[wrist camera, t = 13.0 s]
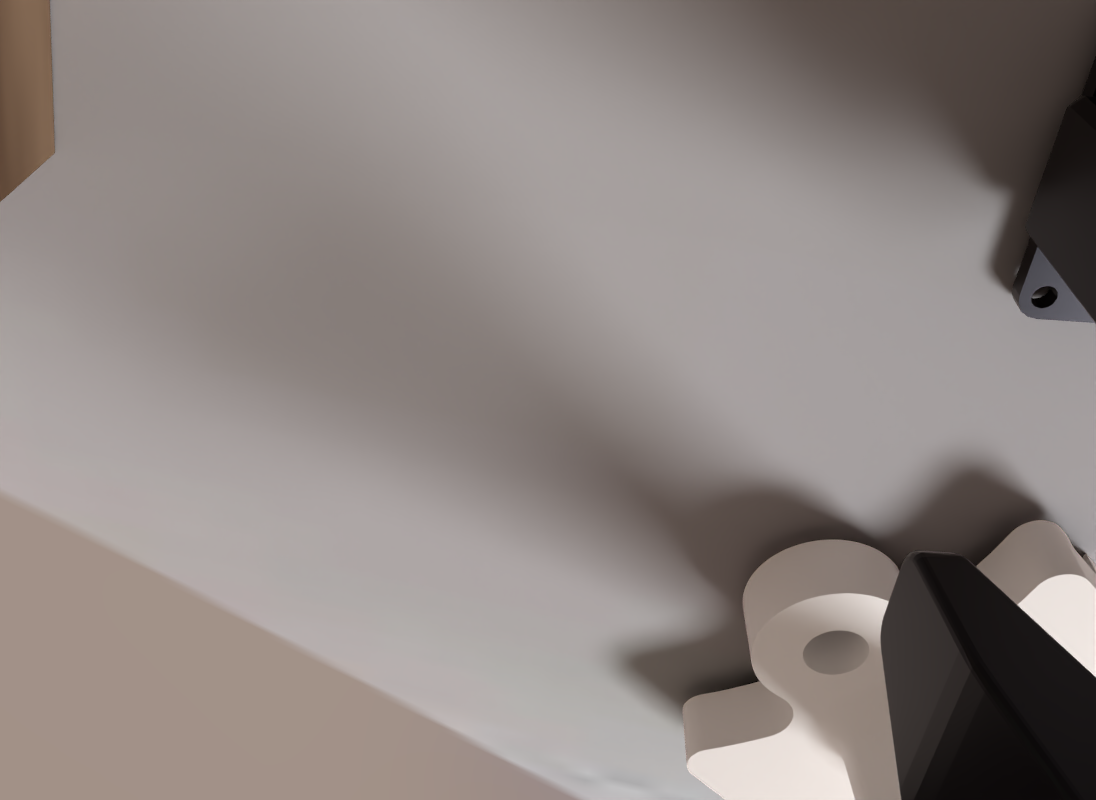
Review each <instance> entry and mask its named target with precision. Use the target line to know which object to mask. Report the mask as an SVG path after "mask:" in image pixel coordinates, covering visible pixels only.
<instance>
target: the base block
mask: <svg viewBox="0 0 1096 800" xmlns="http://www.w3.org/2000/svg"><path fill="white" fill-rule="evenodd" d="M54 153H55V145H54V115H53V85H52V55H51V26H50V0H0V202H1V201H2V200H3V199H4V198H5V197H6V196H7V195H9V194H10V193H11V192H12V191H13V190H14V189H15V188H16V187H17V186H19V185H20V184H21V183H22V182H23V181H24V180H25V179H26V178H27V177H29V176H30V175H31V174H32V173H33V172H34V171H35V170H36V169H37V168H39V167H40V166H41V165H42V164H43V163H44V162H45V161H46V160H47V159H49V158H50V157H51V156H52V155H53V154H54Z"/></svg>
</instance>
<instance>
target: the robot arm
mask: <svg viewBox="0 0 1096 800" xmlns="http://www.w3.org/2000/svg"><path fill="white" fill-rule="evenodd" d="M1025 228H1026V231H1027V232H1028V234H1029V235H1030V237H1031V238H1030V240H1029V243H1028V246H1027V249H1026V252H1025V254H1024V257H1023V260H1022V263H1021V265H1020V268H1019V271H1018V274H1017V277H1016V279H1015V282H1014V285H1013V291H1012V295H1013V298H1014V300H1015V302H1016V304H1017V305H1018V307H1019V309H1020V310H1021V311H1022V312H1023V313H1024V314H1025V315H1026V316H1028V317H1032V318H1036V319H1048V320H1062V321H1076V322H1090V323H1096V57H1095V60H1094V63H1093V65H1092V68H1091V71H1090V74H1089V76H1088V79H1087V82H1086V85H1085V88H1084V90H1083V93H1082V96H1080V97H1079V98H1078V99H1077V100H1076V101H1074V102H1073V103H1072V104H1071V105H1070V106H1069V107H1068V108H1067V109H1066V112H1065V115H1064V117H1063V120H1062V123H1061V126H1060V129H1059V132H1058V134H1057V137H1056V140H1055V143H1054V146H1053V149H1052V151H1051V154H1050V157H1049V160H1048V163H1047V165H1046V168H1045V171H1044V174H1043V177H1042V180H1041V182H1040V185H1039V188H1038V191H1037V194H1036V197H1035V199H1034V202H1033V205H1032V208H1031V211H1030V214H1029V216H1028V219H1027V222H1026V226H1025ZM1045 286H1051V287H1050V290H1049V291H1048V293H1047V294H1046V295H1044V296H1042V297H1041V298H1034V299H1033V298H1032V295H1033V294H1034V292H1035V291H1036V290H1038V289H1039V288H1041V287H1045ZM880 642H881V654H882V661H883V669H884V676H885V684H886V691H887V699H888V706H889V714H890V721H891V729H892V736H893V744H894V752H895V759H896V767H897V774H898V782H899V789H900V796H901V800H1096V677H1095V676H1094V675H1093V674H1092V673H1091V672H1090V671H1089V670H1087V669H1086V668H1085V667H1084V666H1083V665H1082V664H1081V663H1080V662H1079V661H1078V660H1077V659H1076V658H1074V657H1073V656H1072V655H1071V654H1070V653H1069V652H1068V651H1067V650H1066V649H1065V648H1064V647H1062V646H1061V645H1060V644H1059V643H1058V642H1057V641H1056V640H1055V639H1054V638H1053V637H1052V636H1051V635H1049V634H1048V633H1047V632H1046V631H1045V630H1044V629H1043V628H1042V627H1041V626H1040V625H1039V624H1038V623H1036V622H1035V621H1034V620H1033V619H1032V618H1031V617H1030V616H1029V615H1028V614H1027V613H1026V612H1025V611H1023V610H1022V609H1021V608H1020V607H1019V606H1018V605H1017V604H1016V603H1015V602H1014V601H1013V600H1011V599H1010V598H1009V597H1008V596H1007V595H1006V594H1005V593H1004V592H1003V591H1002V590H1001V589H1000V588H998V587H997V586H996V585H995V584H994V583H993V582H992V581H991V580H990V579H989V578H988V577H987V576H985V575H984V574H983V573H982V572H981V571H980V570H979V569H978V568H977V567H976V566H975V565H974V564H972V563H971V562H970V561H969V560H968V559H966V558H965V557H964V556H962V555H960V554H956V553H948V552H934V551H914V552H911V553H909V554H908V555H907V557H906V558H905V559H904V561H903V563H902V565H901V568H900V571H899V574H898V577H897V580H896V583H895V585H894V588H893V591H892V594H891V597H890V600H889V602H888V605H887V608H886V611H885V614H884V617H883V620H882V625H881V635H880Z"/></svg>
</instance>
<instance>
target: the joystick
mask: <svg viewBox="0 0 1096 800" xmlns="http://www.w3.org/2000/svg"><path fill="white" fill-rule="evenodd" d="M976 567H977V568H978V569H979V570H980V571H981V572H982V573H983V574H984V575H985V576H987V577H988V578H989V579H990V580H991V581H992V582H993V583H994V584H995V585H996V586H997V587H998V588H1000V589H1001V590H1002V591H1003V592H1004V593H1005V594H1006V595H1007V596H1008V597H1009V598H1010V599H1011V600H1013V601H1014V602H1015V603H1016V604H1017V605H1018V606H1019V607H1020V608H1021V609H1022V610H1023V611H1025V612H1026V613H1027V614H1028V615H1029V616H1030V617H1031V618H1032V619H1033V620H1034V621H1035V622H1036V623H1038V624H1039V625H1040V626H1041V627H1042V628H1043V629H1044V630H1045V631H1046V632H1047V633H1048V634H1049V635H1051V636H1052V637H1053V638H1054V639H1055V640H1056V641H1057V642H1058V643H1059V644H1060V645H1061V646H1062V647H1064V648H1065V649H1066V650H1067V651H1068V652H1069V653H1070V654H1071V655H1072V656H1073V657H1074V658H1076V659H1077V660H1078V661H1079V662H1080V663H1081V664H1082V665H1083V666H1084V667H1085V668H1086V669H1087V670H1089V671H1090V672H1091V673H1092V674H1093V675H1094V676H1095V677H1096V565H1095V564H1094V562H1093V561H1092V560H1091V559H1090V558H1089V556H1088V555H1087V554H1085V555H1084V556H1083V557H1081V556H1080V555H1079V554H1078V552H1077V551H1076V550H1075V549H1074V548H1073V546H1072V544H1071V542H1070V540H1069V538H1068V536H1067V535H1066V533H1065V532H1064V531H1063V530H1062V529H1061V527H1060V526H1058V525H1057V524H1055V523H1053V522H1050V521H1045V520H1037V521H1031V522H1027V523H1025V524H1022V525H1020V526H1019V527H1017V528H1016V529H1014V530H1013V531H1012V532H1011V533H1010V534H1009V535H1008V536H1007V537H1006V538H1005V539H1004V540H1003V541H1002V542H1001V543H1000V544H999V545H998V546H997V547H996V548H995V549H994V550H993V551H992V552H991V553H990V554H989V555H988V556H987V557H986V558H985V559H983V560H982V561H981V562H980V563H979V564H978V565H977V566H976ZM898 574H899V569H898V567H897V566H896V565H895V563H894V562H893V561H892V560H891V559H890V558H889V557H887V556H886V555H885V554H883V553H882V552H880V551H878V550H877V549H875V548H872V547H870V546H868V545H865V544H862V543H858V542H853V541H847V540H817V541H811V542H806V543H802V544H799V545H795V546H792V547H790V548H787V549H785V550H783V551H781V552H779V553H777V554H775V555H774V556H772V557H771V558H769V559H768V560H766V561H765V562H764V563H763V564H762V565H761V566H759V567H758V568H757V570H756V571H755V572H754V573H753V574H752V576H751V577H750V579H749V581H748V582H747V584H746V587H745V590H744V593H743V611H744V617H745V624H746V630H747V637H748V643H749V650H750V656H751V663H752V667H753V670H754V672H755V675H756V676H757V678H758V679H759V682H755V683H752V684H748V685H744V686H740V687H736V688H731V689H727V690H722V691H717V692H712V693H707V694H702V695H697V696H694V697H692V698H690V699H689V700H688V701H687V702H686V703H685V704H684V706H683V723H684V735H685V748H686V760H687V769H688V771H689V772H690V773H691V774H692V775H693V776H695V777H696V778H697V779H699V780H700V781H701V782H702V783H704V784H705V785H706V786H708V787H709V788H710V789H712V790H713V791H714V792H716V793H717V794H718V795H720V796H721V797H722V798H723V799H725V800H901V796H900V789H899V782H898V774H897V767H896V759H895V752H894V744H893V736H892V729H891V721H890V714H889V706H888V699H887V691H886V684H885V676H884V669H883V661H882V654H881V642H880V635H881V625H882V620H883V617H884V614H885V611H886V608H887V605H888V602H889V600H890V597H891V594H892V591H893V588H894V585H895V583H896V580H897V577H898Z"/></svg>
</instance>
